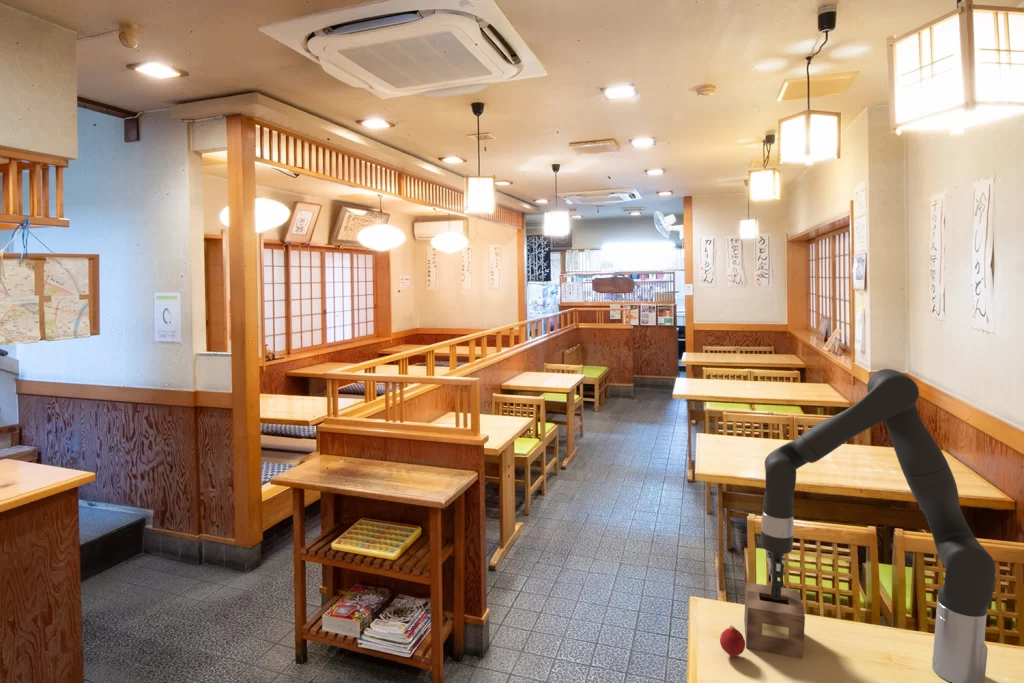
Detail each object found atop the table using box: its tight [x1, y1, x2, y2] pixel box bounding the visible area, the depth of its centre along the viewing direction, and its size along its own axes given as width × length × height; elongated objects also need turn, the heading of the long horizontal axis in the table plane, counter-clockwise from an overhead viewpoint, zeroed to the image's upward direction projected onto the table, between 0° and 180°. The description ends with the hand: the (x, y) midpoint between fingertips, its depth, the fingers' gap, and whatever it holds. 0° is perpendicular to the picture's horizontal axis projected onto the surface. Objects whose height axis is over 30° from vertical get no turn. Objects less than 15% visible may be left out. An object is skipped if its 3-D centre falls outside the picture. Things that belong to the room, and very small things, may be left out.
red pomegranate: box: [719, 625, 746, 658], centre depth 146 cm, size 6×6×8 cm
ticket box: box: [743, 581, 806, 660], centre depth 153 cm, size 13×13×11 cm
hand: (774, 590), depth 152 cm, fingers open, 8 cm apart
